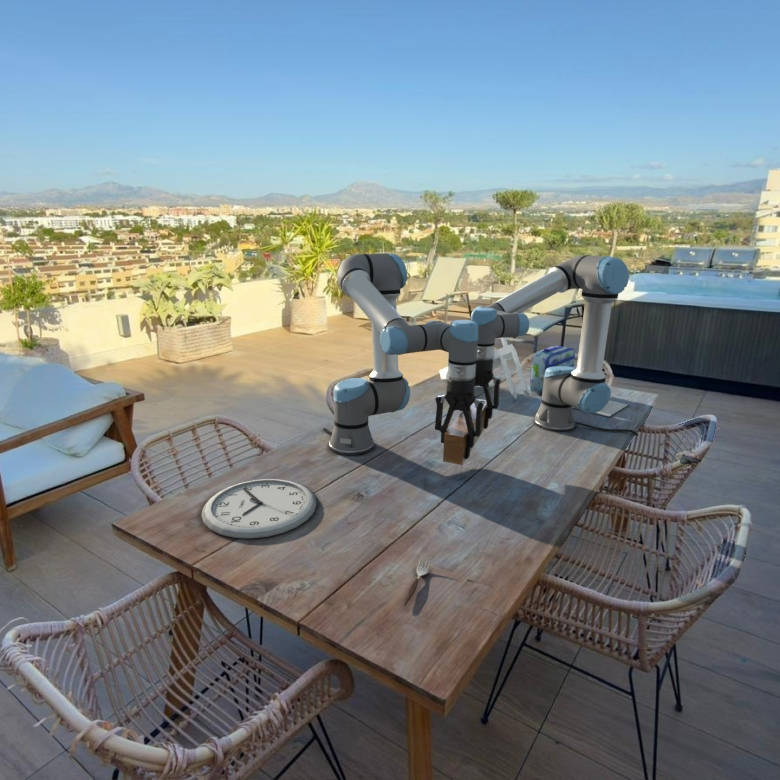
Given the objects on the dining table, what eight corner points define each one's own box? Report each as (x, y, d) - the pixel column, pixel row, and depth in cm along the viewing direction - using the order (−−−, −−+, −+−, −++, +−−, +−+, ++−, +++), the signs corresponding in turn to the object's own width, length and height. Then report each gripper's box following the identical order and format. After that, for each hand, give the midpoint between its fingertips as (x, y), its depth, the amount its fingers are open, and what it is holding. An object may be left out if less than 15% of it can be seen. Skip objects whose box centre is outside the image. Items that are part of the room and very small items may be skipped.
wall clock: (313, 530, 128) (186, 534, 125) (313, 536, 128) (187, 540, 125) (318, 474, 156) (215, 477, 154) (318, 479, 157) (216, 482, 154)
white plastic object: (461, 429, 252) (437, 405, 227) (444, 352, 274) (420, 323, 250) (535, 404, 240) (518, 377, 215) (510, 326, 262) (492, 293, 237)
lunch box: (546, 399, 235) (551, 353, 228) (525, 393, 242) (530, 349, 236) (574, 387, 252) (579, 345, 246) (553, 383, 260) (558, 341, 253)
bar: (471, 421, 177) (472, 398, 175) (487, 424, 175) (489, 400, 173) (442, 461, 147) (444, 433, 144) (462, 465, 145) (463, 436, 143)
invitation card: (608, 416, 214) (573, 407, 224) (608, 416, 214) (573, 408, 224) (628, 404, 229) (594, 396, 238) (628, 405, 229) (594, 397, 238)
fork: (398, 606, 105) (398, 598, 104) (421, 561, 119) (421, 553, 119) (410, 610, 104) (410, 601, 103) (432, 564, 118) (432, 556, 118)
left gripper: (424, 377, 143) (421, 454, 150) (492, 385, 136) (486, 466, 143) (432, 370, 149) (429, 445, 156) (497, 378, 143) (491, 455, 150)
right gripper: (449, 357, 165) (446, 425, 172) (509, 363, 159) (502, 434, 166) (455, 352, 172) (452, 418, 179) (513, 358, 165) (506, 426, 172)
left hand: (456, 455), depth 150 cm, fingers closed on bar, 6 cm apart
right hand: (476, 425), depth 172 cm, fingers closed on bar, 6 cm apart
